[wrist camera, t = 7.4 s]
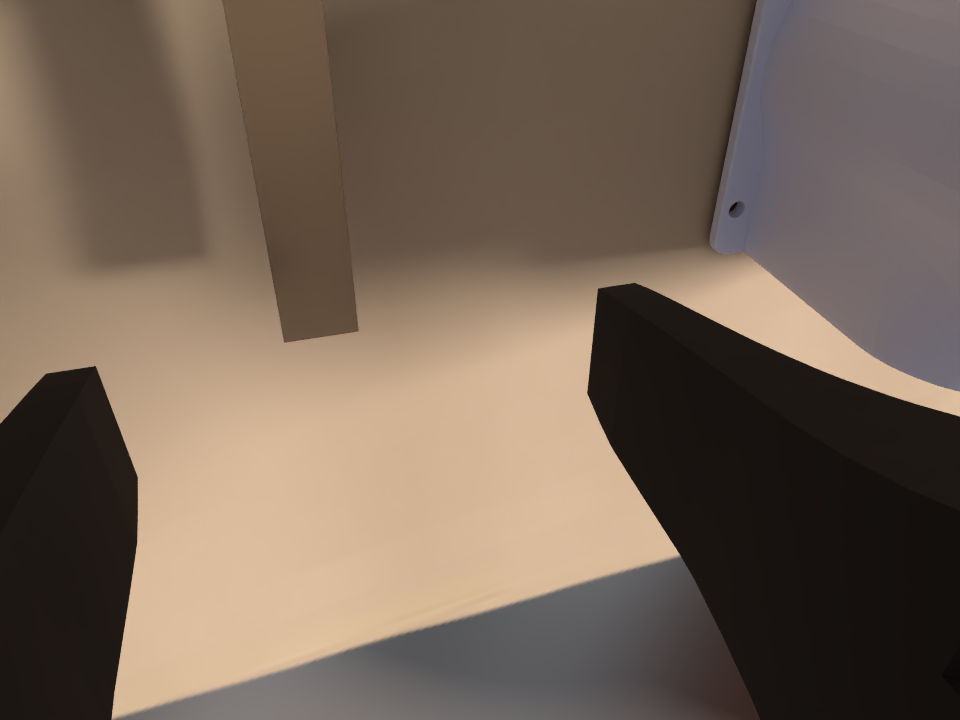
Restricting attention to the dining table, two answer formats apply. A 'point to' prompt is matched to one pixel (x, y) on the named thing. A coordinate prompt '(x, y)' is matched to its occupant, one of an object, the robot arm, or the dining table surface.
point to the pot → (295, 160)
